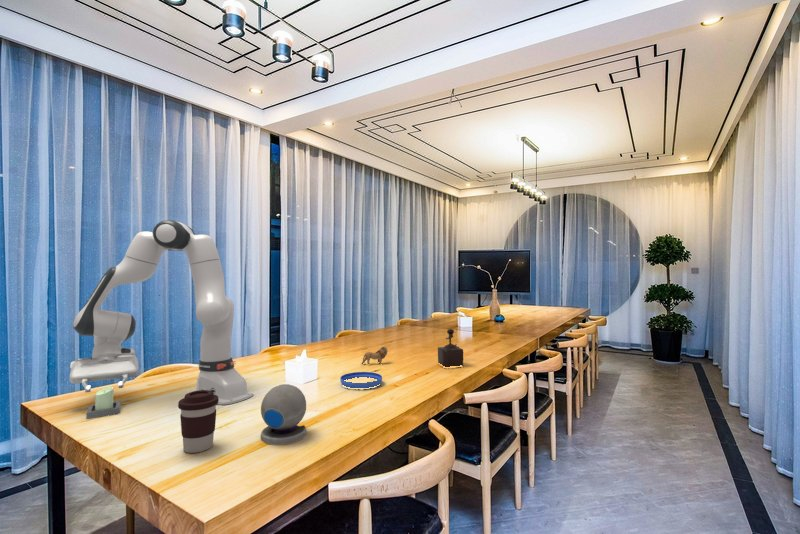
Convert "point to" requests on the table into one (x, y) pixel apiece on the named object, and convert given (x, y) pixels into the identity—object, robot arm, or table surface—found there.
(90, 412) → the holder collar
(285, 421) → the webcam
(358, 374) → the blue ring
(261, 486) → the table surface
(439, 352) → the black block with stem
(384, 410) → the table surface
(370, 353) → the lion figurine
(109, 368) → the robot arm
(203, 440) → the coffee cup
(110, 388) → the candle
